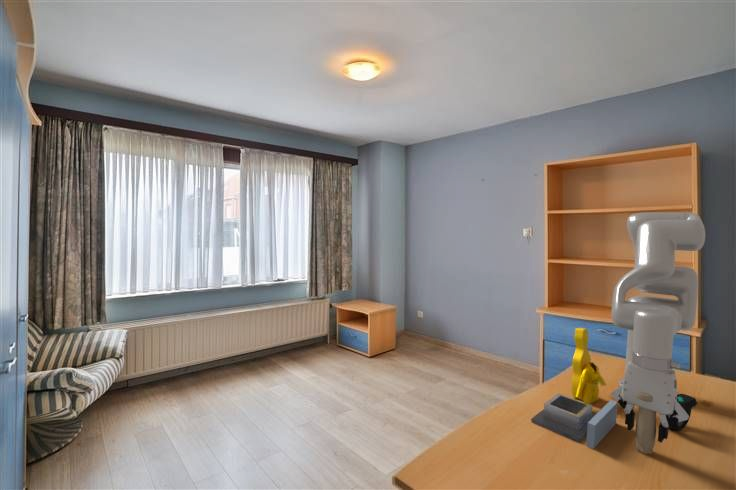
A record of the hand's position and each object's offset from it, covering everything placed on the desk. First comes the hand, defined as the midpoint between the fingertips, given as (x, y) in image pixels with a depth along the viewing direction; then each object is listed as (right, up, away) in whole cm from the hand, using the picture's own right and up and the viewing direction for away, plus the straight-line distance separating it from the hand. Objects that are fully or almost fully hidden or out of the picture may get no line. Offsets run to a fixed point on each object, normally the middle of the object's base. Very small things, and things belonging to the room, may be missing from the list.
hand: (645, 433), depth 87 cm
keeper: (-11, -3, +14) cm, 18 cm away
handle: (0, -5, 0) cm, 5 cm away
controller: (+17, -4, +11) cm, 21 cm away
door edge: (-6, -4, +7) cm, 10 cm away
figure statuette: (+1, -3, +26) cm, 27 cm away
